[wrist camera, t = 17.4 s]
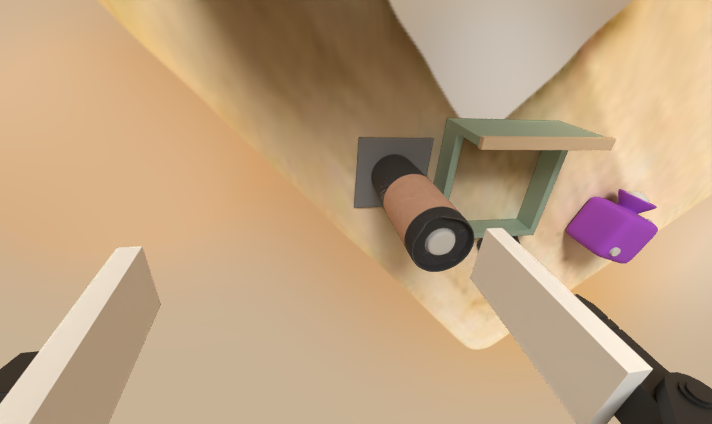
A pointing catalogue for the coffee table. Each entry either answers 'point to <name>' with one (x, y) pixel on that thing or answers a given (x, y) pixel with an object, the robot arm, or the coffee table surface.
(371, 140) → the rubber mat
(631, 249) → the toy camera
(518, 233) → the frame
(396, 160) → the travel mug
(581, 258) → the coffee table surface
